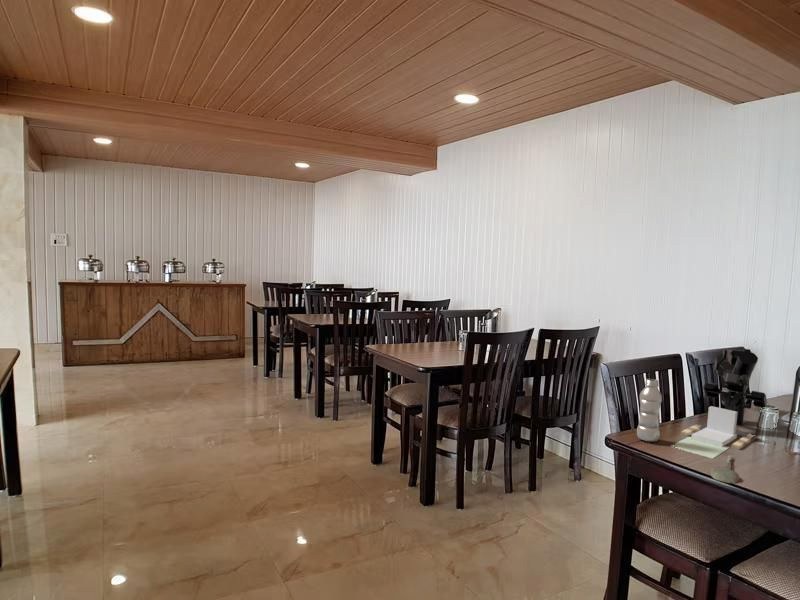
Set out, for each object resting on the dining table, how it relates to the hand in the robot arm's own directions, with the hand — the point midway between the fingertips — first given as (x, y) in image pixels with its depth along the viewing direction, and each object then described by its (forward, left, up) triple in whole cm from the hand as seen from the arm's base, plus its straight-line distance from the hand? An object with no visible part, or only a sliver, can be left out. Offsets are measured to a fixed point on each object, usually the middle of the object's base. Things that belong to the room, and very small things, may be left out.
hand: (727, 413), depth 179 cm
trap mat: (-2, 0, -7) cm, 7 cm away
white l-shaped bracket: (+12, 0, -6) cm, 14 cm away
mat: (+26, 0, -7) cm, 27 cm away
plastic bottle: (+34, -13, -7) cm, 37 cm away
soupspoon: (+40, +11, -7) cm, 43 cm away
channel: (+11, 0, -7) cm, 13 cm away
